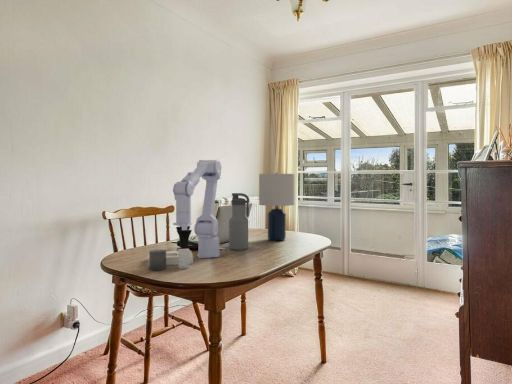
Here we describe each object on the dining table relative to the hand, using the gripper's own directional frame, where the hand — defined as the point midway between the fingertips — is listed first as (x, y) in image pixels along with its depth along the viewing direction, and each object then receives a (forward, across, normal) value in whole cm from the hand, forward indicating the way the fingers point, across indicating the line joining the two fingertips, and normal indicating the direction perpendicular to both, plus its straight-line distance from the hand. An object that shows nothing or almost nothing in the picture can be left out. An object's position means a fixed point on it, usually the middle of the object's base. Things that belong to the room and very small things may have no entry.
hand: (183, 245), depth 135 cm
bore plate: (+9, -11, -5) cm, 15 cm away
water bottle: (+9, -30, +29) cm, 43 cm away
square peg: (+9, 0, 0) cm, 9 cm away
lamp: (+9, -48, +55) cm, 74 cm away
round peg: (+9, 0, -10) cm, 13 cm away
